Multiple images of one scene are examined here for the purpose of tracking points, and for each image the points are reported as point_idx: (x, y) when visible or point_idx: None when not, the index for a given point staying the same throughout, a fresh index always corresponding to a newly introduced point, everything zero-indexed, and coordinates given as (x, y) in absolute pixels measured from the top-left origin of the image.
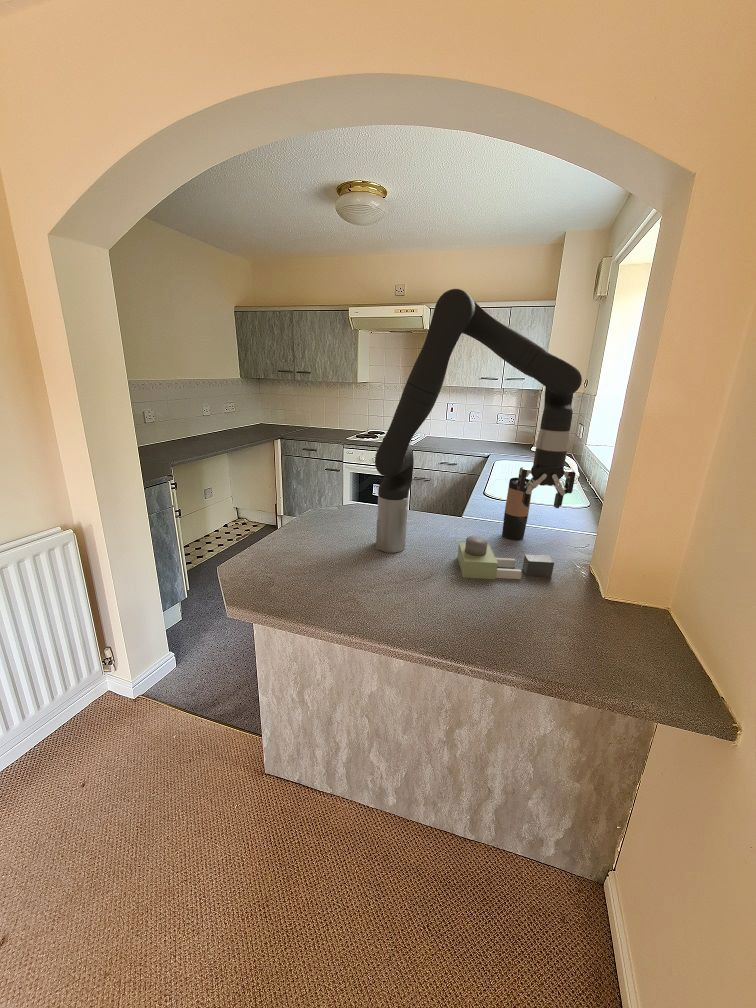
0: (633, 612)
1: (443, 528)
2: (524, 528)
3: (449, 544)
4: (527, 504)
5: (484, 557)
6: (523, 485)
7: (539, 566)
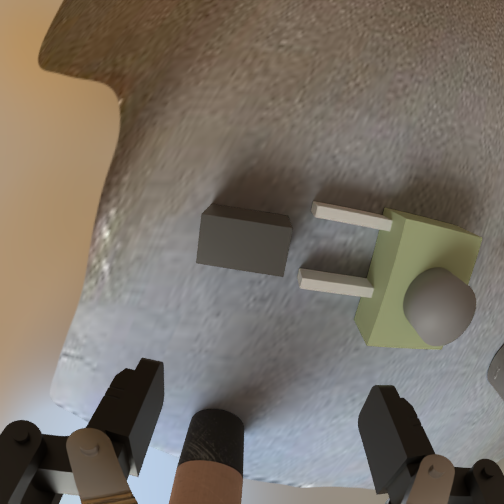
0: (93, 46)
1: None
2: (192, 433)
3: (403, 386)
4: (391, 393)
5: (426, 258)
6: (493, 498)
7: (251, 217)
